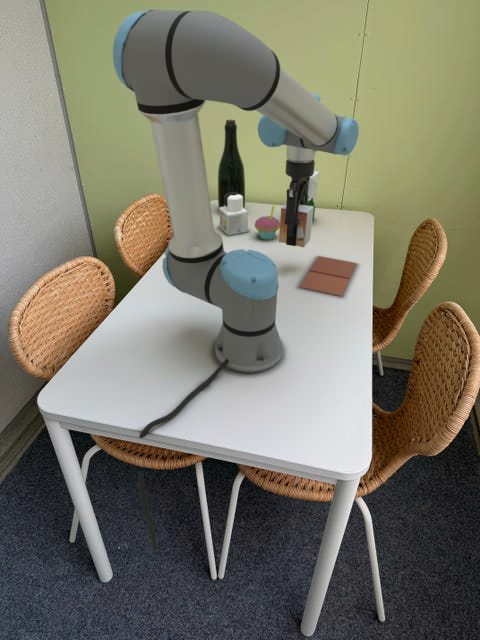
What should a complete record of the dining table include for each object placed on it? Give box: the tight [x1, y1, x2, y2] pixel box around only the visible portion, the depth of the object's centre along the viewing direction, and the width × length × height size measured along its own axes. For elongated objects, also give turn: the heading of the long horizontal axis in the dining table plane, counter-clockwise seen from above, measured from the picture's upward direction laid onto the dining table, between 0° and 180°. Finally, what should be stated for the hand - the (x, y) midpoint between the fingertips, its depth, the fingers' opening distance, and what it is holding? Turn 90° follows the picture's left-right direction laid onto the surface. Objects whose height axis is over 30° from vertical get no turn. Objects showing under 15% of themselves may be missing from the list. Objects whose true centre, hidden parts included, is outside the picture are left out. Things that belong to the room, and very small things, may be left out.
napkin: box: [299, 255, 357, 297], centre depth 130 cm, size 20×12×1 cm, turn 157°
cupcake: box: [254, 204, 280, 241], centre depth 149 cm, size 9×8×12 cm
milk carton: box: [290, 170, 320, 222], centre depth 157 cm, size 9×9×20 cm
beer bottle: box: [217, 119, 246, 211], centre depth 162 cm, size 10×10×33 cm
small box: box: [278, 203, 314, 248], centre depth 125 cm, size 8×6×10 cm
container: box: [218, 192, 249, 236], centre depth 153 cm, size 8×8×13 cm
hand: (294, 240), depth 128 cm, fingers closed on small box, 6 cm apart
